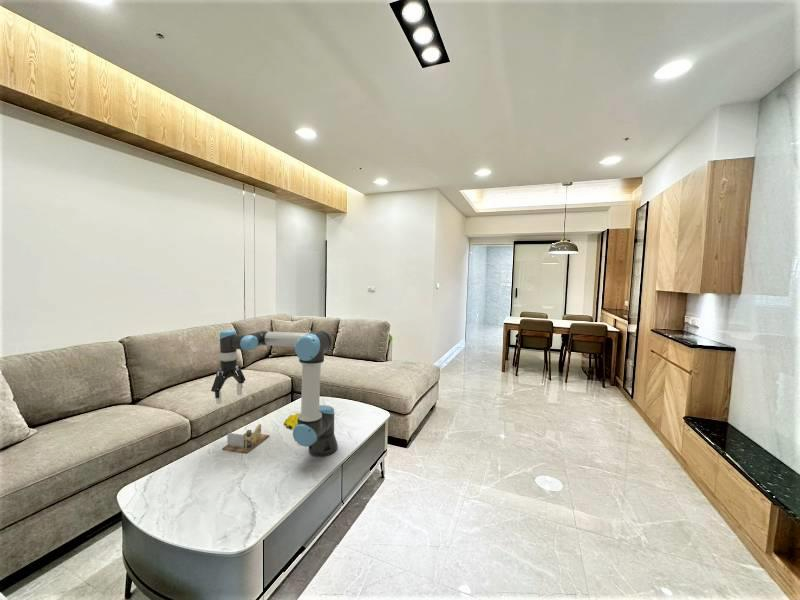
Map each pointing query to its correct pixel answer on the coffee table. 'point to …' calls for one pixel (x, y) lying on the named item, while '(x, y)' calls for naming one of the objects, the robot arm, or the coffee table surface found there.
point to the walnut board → (246, 450)
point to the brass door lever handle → (255, 435)
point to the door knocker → (292, 420)
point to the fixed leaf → (238, 440)
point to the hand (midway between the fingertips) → (229, 399)
